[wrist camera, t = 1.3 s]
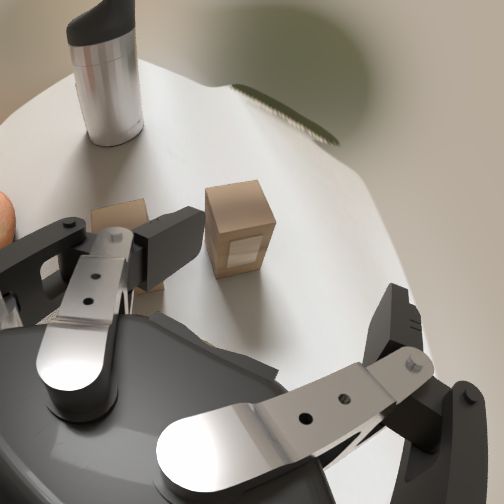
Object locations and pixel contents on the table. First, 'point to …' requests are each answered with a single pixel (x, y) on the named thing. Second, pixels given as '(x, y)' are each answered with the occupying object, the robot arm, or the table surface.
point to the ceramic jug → (6, 221)
